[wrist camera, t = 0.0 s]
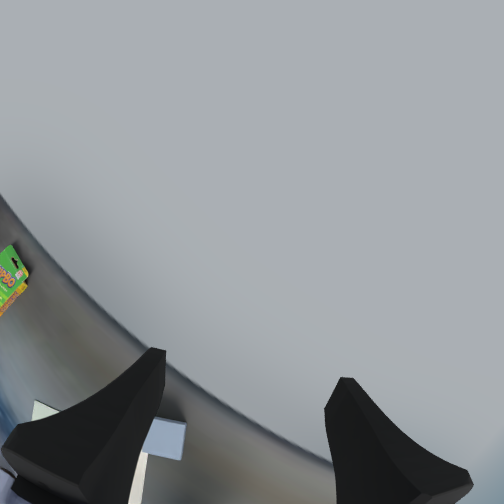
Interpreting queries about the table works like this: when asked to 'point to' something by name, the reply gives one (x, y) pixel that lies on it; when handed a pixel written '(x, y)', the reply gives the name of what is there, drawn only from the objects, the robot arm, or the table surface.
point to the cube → (165, 438)
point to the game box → (10, 278)
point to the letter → (138, 480)
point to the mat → (42, 411)
